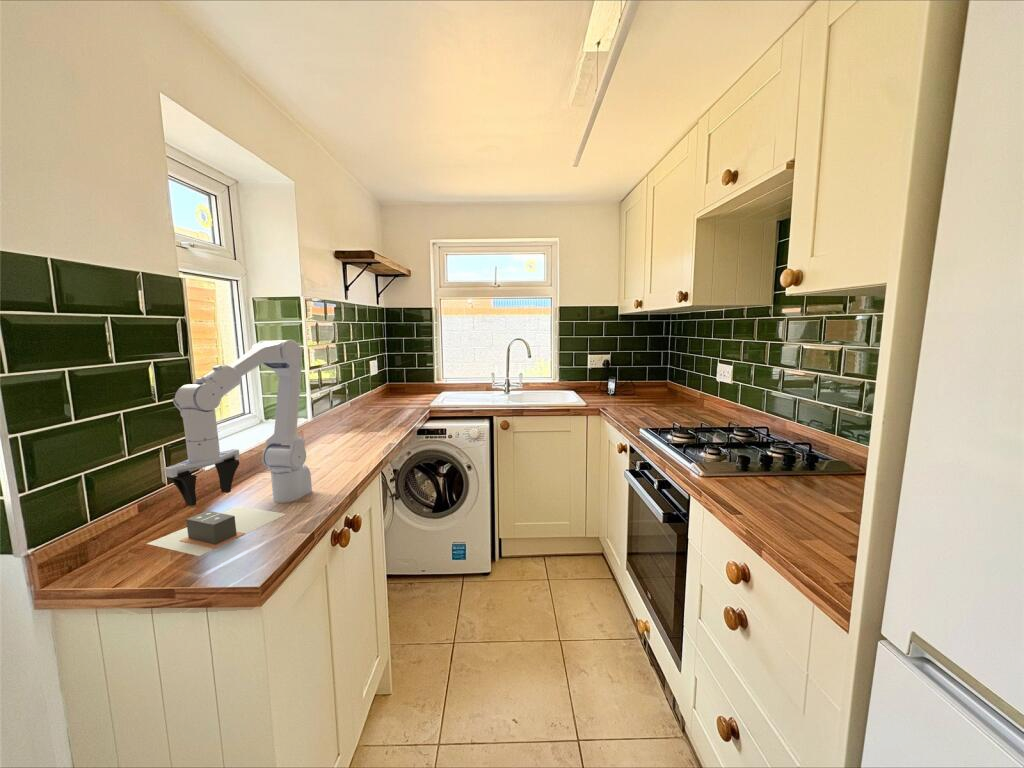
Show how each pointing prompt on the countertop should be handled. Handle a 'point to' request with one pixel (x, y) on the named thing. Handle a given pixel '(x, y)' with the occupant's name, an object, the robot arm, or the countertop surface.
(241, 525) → the cream mat
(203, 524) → the domino block
